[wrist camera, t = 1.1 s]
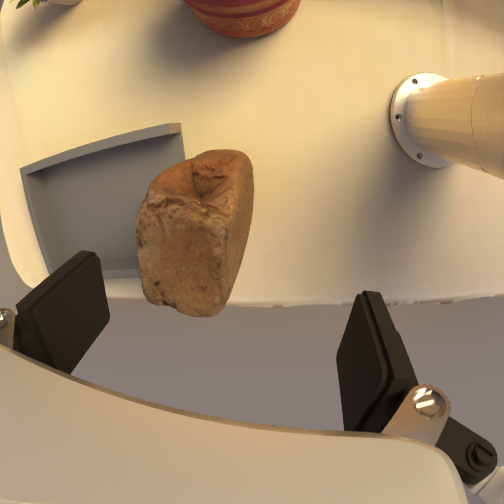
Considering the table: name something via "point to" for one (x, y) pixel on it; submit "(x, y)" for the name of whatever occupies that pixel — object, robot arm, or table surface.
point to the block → (195, 231)
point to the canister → (244, 15)
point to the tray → (98, 196)
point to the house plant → (57, 0)
